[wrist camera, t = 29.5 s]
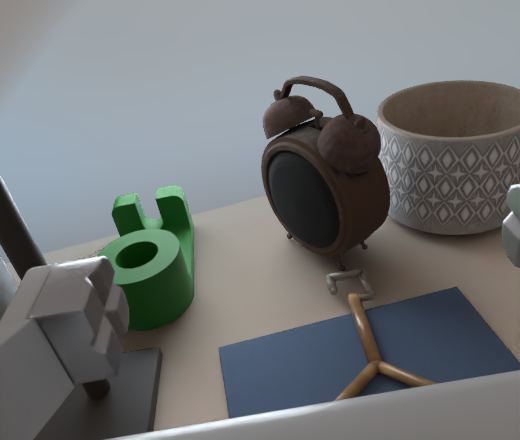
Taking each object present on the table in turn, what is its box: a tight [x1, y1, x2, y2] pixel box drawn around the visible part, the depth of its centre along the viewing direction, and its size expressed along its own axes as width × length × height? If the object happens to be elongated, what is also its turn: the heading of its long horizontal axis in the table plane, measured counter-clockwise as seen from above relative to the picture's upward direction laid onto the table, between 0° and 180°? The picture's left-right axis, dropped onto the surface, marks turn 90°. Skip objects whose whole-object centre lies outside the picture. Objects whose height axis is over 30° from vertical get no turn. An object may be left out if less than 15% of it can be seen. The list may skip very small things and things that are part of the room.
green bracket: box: [97, 186, 194, 330], centre depth 55 cm, size 18×9×6 cm, turn 7°
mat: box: [219, 287, 520, 418], centre depth 37 cm, size 22×24×1 cm
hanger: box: [326, 269, 438, 401], centre depth 42 cm, size 1×17×19 cm
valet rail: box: [0, 175, 162, 440], centre depth 31 cm, size 18×10×27 cm, turn 4°
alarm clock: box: [261, 76, 390, 271], centre depth 50 cm, size 14×7×20 cm, turn 38°
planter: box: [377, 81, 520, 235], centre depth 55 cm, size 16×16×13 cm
